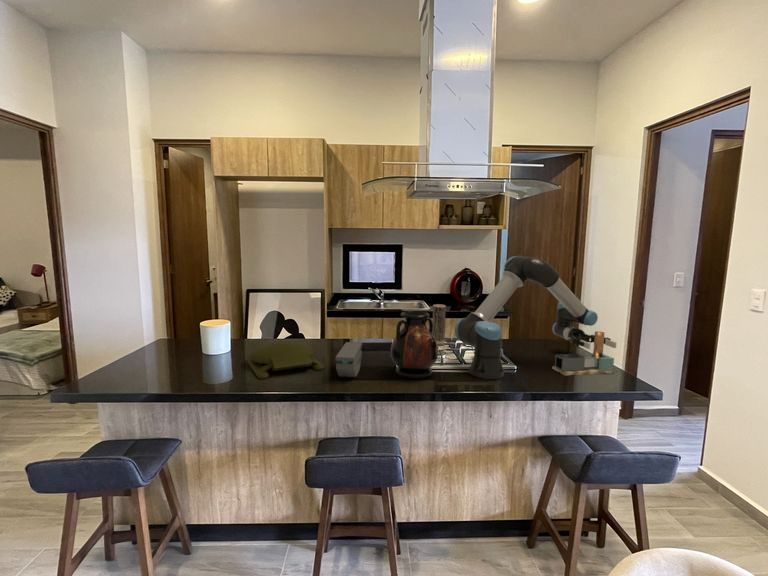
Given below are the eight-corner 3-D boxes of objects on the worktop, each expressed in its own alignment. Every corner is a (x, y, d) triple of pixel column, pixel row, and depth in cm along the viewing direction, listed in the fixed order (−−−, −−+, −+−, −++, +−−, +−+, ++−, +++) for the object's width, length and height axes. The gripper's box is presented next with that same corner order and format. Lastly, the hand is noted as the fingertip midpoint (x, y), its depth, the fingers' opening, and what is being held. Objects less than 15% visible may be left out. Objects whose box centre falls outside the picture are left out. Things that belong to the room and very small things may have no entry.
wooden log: (443, 348, 231) (445, 304, 227) (444, 351, 224) (446, 306, 221) (431, 347, 231) (433, 304, 228) (432, 351, 224) (433, 306, 221)
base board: (564, 375, 187) (564, 372, 187) (552, 368, 197) (552, 366, 197) (613, 373, 191) (613, 370, 191) (598, 366, 201) (599, 364, 201)
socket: (601, 370, 191) (602, 358, 190) (588, 364, 200) (589, 353, 199) (613, 370, 192) (614, 358, 191) (599, 364, 201) (600, 352, 200)
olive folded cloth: (326, 370, 191) (326, 350, 189) (258, 381, 176) (258, 359, 175) (303, 352, 221) (303, 334, 220) (243, 359, 206) (243, 340, 205)
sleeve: (562, 371, 189) (563, 358, 188) (554, 367, 195) (555, 354, 194) (583, 370, 191) (584, 357, 190) (575, 366, 197) (576, 353, 196)
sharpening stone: (353, 382, 175) (353, 357, 173) (335, 381, 175) (335, 357, 174) (361, 364, 199) (362, 342, 198) (345, 363, 200) (345, 342, 199)
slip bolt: (576, 367, 191) (578, 334, 189) (571, 365, 195) (573, 332, 193) (604, 366, 194) (607, 333, 192) (598, 363, 198) (601, 331, 196)
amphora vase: (420, 363, 202) (421, 307, 199) (447, 376, 183) (449, 315, 180) (381, 370, 192) (382, 311, 188) (406, 384, 173) (407, 319, 169)
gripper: (595, 341, 215) (625, 352, 194) (551, 342, 211) (577, 354, 190) (596, 327, 214) (626, 337, 193) (552, 328, 210) (578, 338, 189)
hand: (602, 345), depth 191 cm, fingers open, 13 cm apart
